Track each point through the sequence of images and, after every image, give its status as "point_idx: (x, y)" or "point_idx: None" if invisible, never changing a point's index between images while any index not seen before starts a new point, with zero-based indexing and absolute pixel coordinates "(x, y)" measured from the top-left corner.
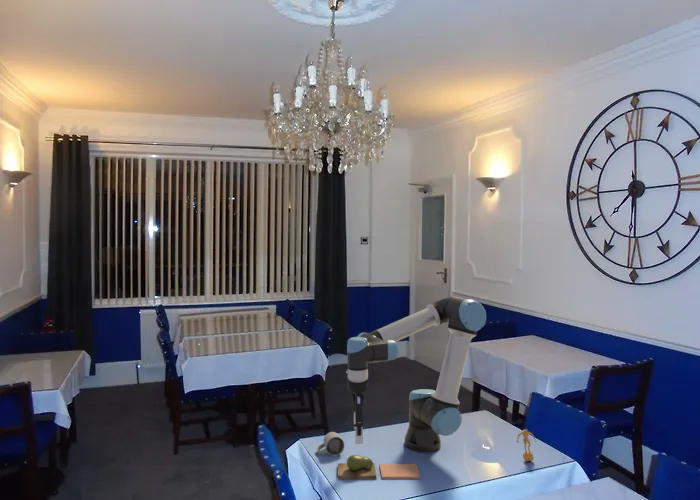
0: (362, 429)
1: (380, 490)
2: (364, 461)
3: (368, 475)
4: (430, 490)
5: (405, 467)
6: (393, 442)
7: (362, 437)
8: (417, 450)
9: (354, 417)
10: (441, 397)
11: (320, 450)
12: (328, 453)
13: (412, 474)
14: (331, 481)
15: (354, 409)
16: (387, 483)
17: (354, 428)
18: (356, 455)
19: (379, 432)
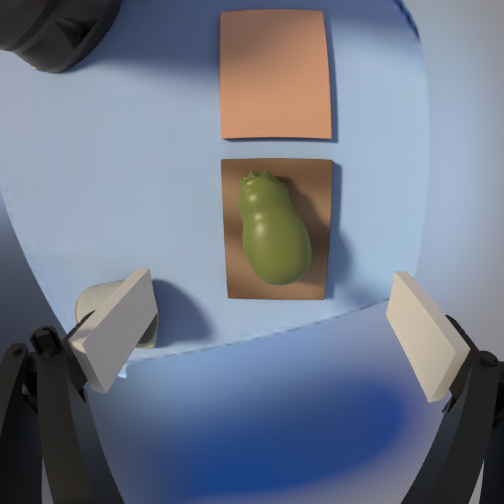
0: (455, 331)
1: (407, 159)
2: (289, 211)
3: (330, 191)
4: (394, 12)
5: (249, 43)
6: (53, 106)
7: (424, 294)
8: (110, 23)
9: (122, 359)
10: None
11: (153, 344)
12: (158, 320)
13: (308, 29)
14: (335, 312)
15: (89, 406)
16: (363, 124)
17: (155, 310)
18: (271, 253)
19: (10, 159)
